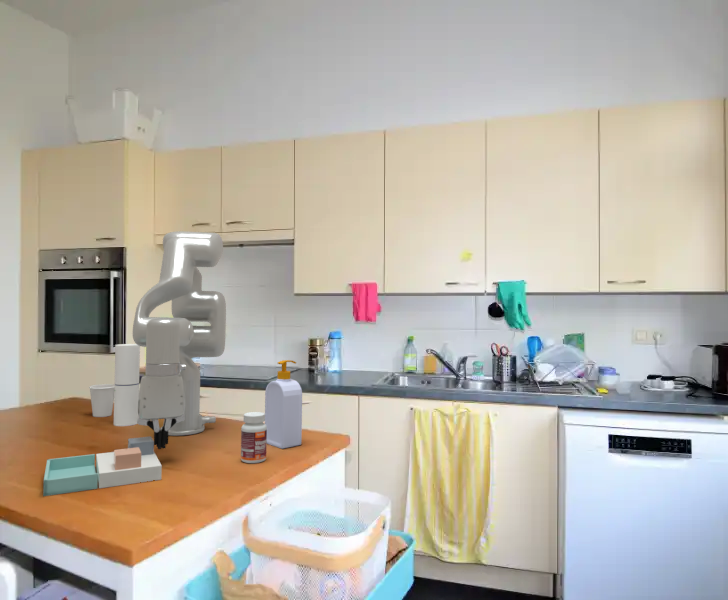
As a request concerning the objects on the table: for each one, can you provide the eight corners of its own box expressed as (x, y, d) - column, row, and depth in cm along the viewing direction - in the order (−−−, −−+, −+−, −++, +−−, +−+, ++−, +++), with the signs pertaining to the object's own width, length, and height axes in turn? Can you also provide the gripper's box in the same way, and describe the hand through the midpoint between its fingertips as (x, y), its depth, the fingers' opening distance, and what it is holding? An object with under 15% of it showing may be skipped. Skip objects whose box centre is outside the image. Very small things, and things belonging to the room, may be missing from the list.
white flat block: (151, 460, 125) (151, 447, 125) (161, 479, 111) (161, 465, 111) (96, 466, 119) (96, 453, 119) (99, 488, 105) (99, 473, 105)
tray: (94, 467, 119) (94, 454, 119) (97, 488, 105) (97, 473, 105) (46, 472, 114) (47, 459, 114) (43, 496, 100) (43, 480, 101)
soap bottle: (303, 444, 141) (305, 361, 141) (282, 449, 136) (284, 362, 137) (284, 438, 147) (286, 358, 148) (264, 442, 143) (265, 360, 143)
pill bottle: (258, 465, 122) (259, 417, 123) (235, 462, 124) (236, 415, 124) (270, 457, 128) (271, 412, 128) (248, 455, 130) (249, 410, 130)
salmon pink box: (138, 460, 114) (138, 447, 114) (141, 466, 110) (141, 452, 110) (113, 463, 112) (113, 449, 112) (115, 470, 108) (115, 455, 108)
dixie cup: (108, 418, 171) (108, 387, 171) (83, 417, 171) (84, 387, 171) (120, 413, 179) (121, 384, 179) (96, 412, 179) (97, 383, 179)
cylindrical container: (122, 427, 158) (124, 345, 159) (108, 424, 162) (110, 344, 163) (143, 423, 164) (144, 344, 165) (129, 420, 168) (131, 343, 169)
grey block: (150, 448, 124) (150, 436, 124) (153, 454, 120) (153, 441, 120) (127, 451, 122) (128, 438, 122) (129, 456, 117) (130, 443, 117)
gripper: (191, 367, 130) (189, 440, 130) (126, 370, 123) (124, 447, 122) (198, 370, 124) (196, 447, 123) (130, 373, 116) (128, 455, 116)
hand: (160, 447), depth 123 cm, fingers closed
